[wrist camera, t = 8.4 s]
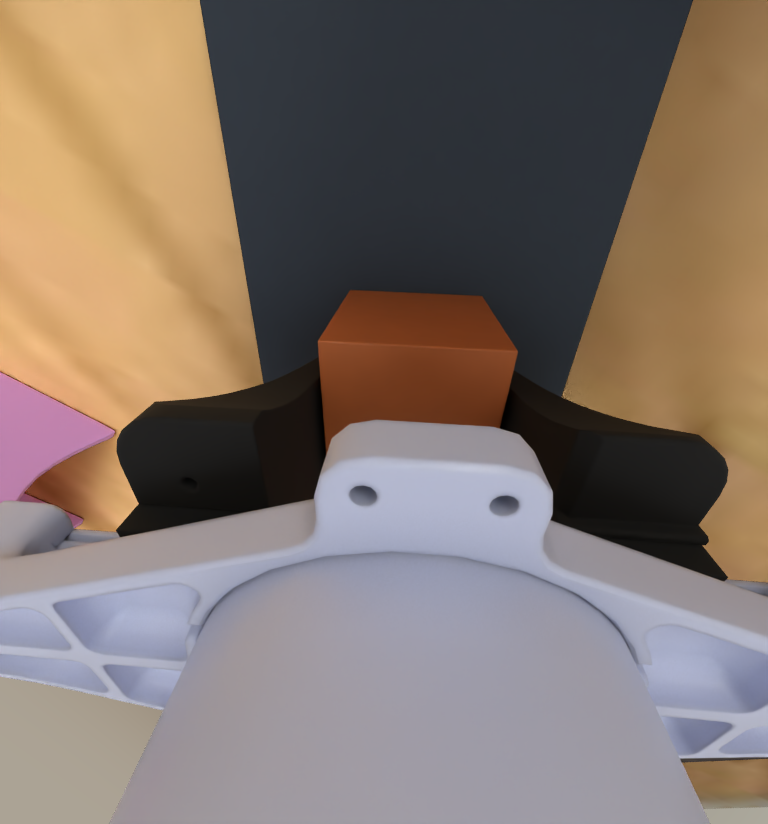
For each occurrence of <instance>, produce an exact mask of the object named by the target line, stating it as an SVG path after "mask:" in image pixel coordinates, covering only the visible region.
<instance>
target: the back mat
mask: <svg viewBox="0 0 768 824" xmlns="http://www.w3.org/2000/svg"><path fill="white" fill-rule="evenodd" d="M692 2H693V0H200V4H201V10H202V16H203V22H204V28H205V34H206V40H207V46H208V52H209V58H210V64H211V70H212V76H213V82H214V88H215V94H216V100H217V106H218V112H219V118H220V124H221V130H222V136H223V142H224V148H225V154H226V160H227V166H228V172H229V178H230V184H231V190H232V196H233V202H234V208H235V214H236V220H237V226H238V232H239V238H240V244H241V250H242V256H243V262H244V268H245V274H246V280H247V286H248V292H249V298H250V304H251V310H252V316H253V322H254V328H255V334H256V340H257V346H258V352H259V358H260V364H261V370H262V376H263V382H264V383H267V382H270V381H272V380H275V379H277V378H279V377H282V376H284V375H286V374H288V373H290V372H292V371H294V370H296V369H298V368H300V367H302V366H303V365H305V364H307V363H309V362H311V361H312V360H314V359H316V358H318V357H319V353H318V340H319V338H320V337H321V335H322V334H323V332H324V331H325V329H326V327H327V326H328V324H329V323H330V321H331V319H332V318H333V316H334V315H335V313H336V312H337V310H338V308H339V307H340V305H341V304H342V302H343V300H344V299H345V297H346V296H347V294H348V292H349V291H350V290H362V291H384V292H406V293H428V294H450V295H472V296H482V297H483V298H484V300H485V301H486V303H487V304H488V306H489V308H490V309H491V311H492V312H493V314H494V315H495V317H496V318H497V320H498V321H499V323H500V324H501V326H502V328H503V329H504V331H505V332H506V334H507V335H508V337H509V338H510V340H511V341H512V343H513V344H514V346H515V348H516V349H517V351H518V354H517V358H516V362H515V367H514V370H515V371H516V372H518V373H519V374H521V375H522V376H524V377H526V378H527V379H529V380H530V381H532V382H534V383H535V384H537V385H539V386H541V387H542V388H544V389H546V390H548V391H550V392H552V393H554V394H556V395H558V396H560V397H561V396H562V393H563V390H564V387H565V384H566V381H567V378H568V375H569V372H570V369H571V366H572V363H573V360H574V357H575V354H576V351H577V348H578V345H579V342H580V339H581V336H582V333H583V330H584V327H585V324H586V321H587V318H588V315H589V312H590V309H591V306H592V303H593V300H594V297H595V294H596V291H597V288H598V285H599V282H600V279H601V276H602V273H603V270H604V267H605V264H606V261H607V258H608V255H609V252H610V249H611V246H612V243H613V240H614V237H615V234H616V231H617V228H618V225H619V222H620V219H621V216H622V213H623V210H624V207H625V204H626V201H627V198H628V195H629V192H630V189H631V186H632V183H633V180H634V177H635V174H636V170H637V167H638V164H639V161H640V158H641V155H642V152H643V149H644V146H645V143H646V140H647V137H648V134H649V131H650V128H651V125H652V122H653V119H654V116H655V113H656V110H657V107H658V104H659V101H660V98H661V95H662V92H663V89H664V86H665V83H666V80H667V77H668V74H669V71H670V68H671V65H672V62H673V59H674V56H675V53H676V50H677V47H678V44H679V41H680V38H681V35H682V32H683V29H684V26H685V23H686V20H687V17H688V14H689V11H690V8H691V5H692Z"/></svg>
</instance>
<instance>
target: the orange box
mask: <svg viewBox="0 0 768 824" xmlns="http://www.w3.org/2000/svg"><path fill="white" fill-rule="evenodd" d="M318 353H319V366H320V380H321V394H322V407H323V421H324V435H325V449H326V455H327V451H328V448H329V445H330V442H331V439H332V438H333V437H334V436H335V435H336V434H338V433H339V432H340V431H341V430H343V429H344V428H345V427H347V426H348V425H349V424H352V423H358V422H364V421H370V420H391V421H407V422H424V423H440V424H456V425H473V426H489V427H496V428H499V429H500V425H501V421H502V416H503V412H504V408H505V404H506V400H507V396H508V392H509V387H510V383H511V379H512V375H513V371H514V367H515V362H516V358H517V354H518V351H517V349H516V348H515V346H514V344H513V343H512V341H511V340H510V338H509V337H508V335H507V334H506V332H505V331H504V329H503V328H502V326H501V324H500V323H499V321H498V320H497V318H496V317H495V315H494V314H493V312H492V311H491V309H490V308H489V306H488V304H487V303H486V301H485V300H484V298H483V297H482V296H472V295H450V294H428V293H406V292H384V291H362V290H350V291H349V292H348V294H347V296H346V297H345V299H344V300H343V302H342V304H341V305H340V307H339V308H338V310H337V312H336V313H335V315H334V316H333V318H332V319H331V321H330V323H329V324H328V326H327V327H326V329H325V331H324V332H323V334H322V335H321V337H320V338H319V340H318Z"/></svg>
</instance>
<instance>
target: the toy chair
mask: <svg viewBox="0 0 768 824" xmlns="http://www.w3.org/2000/svg"><path fill="white" fill-rule="evenodd" d="M114 433H115V431H114V430H112V429H111V428H109V427H107V426H105V425H103V424H101V423H99V422H97V421H95V420H94V419H92V418H90V417H88V416H86V415H84V414H82V413H80V412H78V411H76V410H74V409H72V408H70V407H68V406H66V405H64V404H62V403H60V402H58V401H56V400H54V399H52V398H50V397H48V396H46V395H44V394H42V393H40V392H38V391H36V390H34V389H32V388H30V387H29V386H27V385H25V384H23V383H21V382H19V381H17V380H15V379H13V378H11V377H9V376H7V375H5V374H3V373H1V372H0V503H2V502H3V501H22V502H36V503H46V502H43V501H41V500H39V499H36V498H34V497H32V496H29V495H27V494H25V493H24V492H25V491H26V490H27V489H28V488H29V487H30V486H31V485H32V483H33V482H34V481H35V480H36V479H37V478H38V477H40V476H41V475H43V474H44V473H45V472H47V471H48V470H50V469H51V468H52V467H54V466H55V465H57V464H59V463H60V462H62V461H64V460H66V459H68V458H69V457H71V456H73V455H75V454H77V453H79V452H81V451H83V450H85V449H87V448H89V447H92V446H94V445H96V444H99V443H101V442H103V441H105V440H108V439H110V438H112V437H113V436H114ZM65 512H66V511H65ZM66 513H67V514H68V516H69V518H70V519H71V522H72V524H73V527H74V528H76V527H77V526H79V525H81V524H82V522H83V519H82V518H80V517H78V516H75V515H73V514H71V513H69V512H66Z"/></svg>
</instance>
